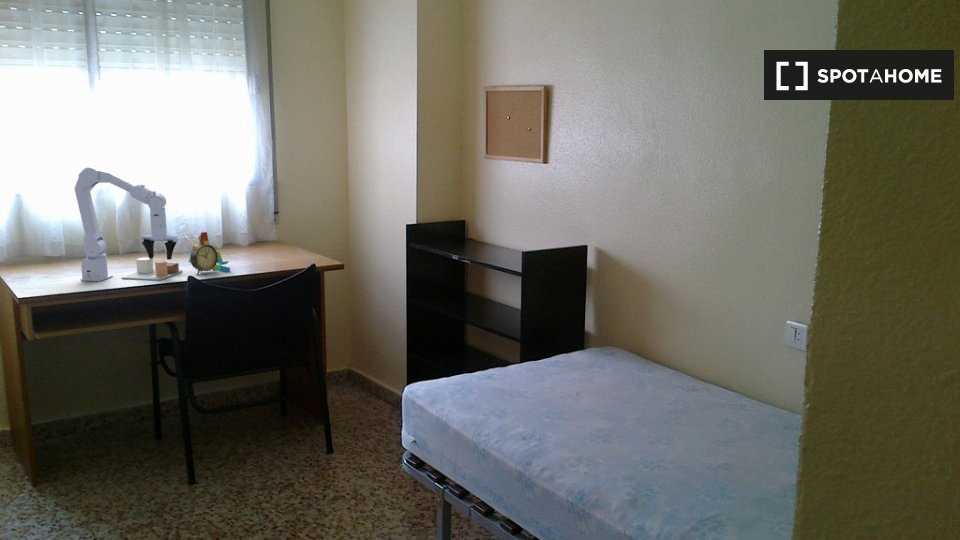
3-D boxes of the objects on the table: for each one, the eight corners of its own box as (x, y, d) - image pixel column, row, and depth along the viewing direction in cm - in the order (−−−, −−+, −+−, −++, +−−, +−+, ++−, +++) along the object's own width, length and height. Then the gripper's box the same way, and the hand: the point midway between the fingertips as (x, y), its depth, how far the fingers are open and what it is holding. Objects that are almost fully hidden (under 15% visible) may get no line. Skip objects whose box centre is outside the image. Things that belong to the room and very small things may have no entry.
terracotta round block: (164, 277, 312) (163, 263, 311) (153, 276, 312) (152, 263, 311) (169, 274, 316) (168, 261, 315) (159, 274, 317) (158, 261, 315)
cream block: (147, 273, 319) (146, 260, 318) (137, 272, 319) (136, 259, 318) (153, 271, 323) (152, 258, 322) (143, 270, 324) (142, 257, 323)
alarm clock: (197, 275, 318) (195, 236, 315) (188, 274, 321) (186, 235, 318) (219, 271, 328) (217, 233, 324) (210, 270, 330) (208, 232, 327)
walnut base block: (171, 274, 318) (171, 265, 317) (157, 273, 318) (157, 265, 318) (178, 271, 324) (178, 263, 323) (165, 270, 324) (164, 262, 324)
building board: (160, 280, 308) (160, 279, 308) (121, 278, 310) (121, 277, 310) (183, 271, 326) (183, 270, 325) (146, 270, 328) (146, 268, 327)
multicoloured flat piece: (230, 272, 328) (229, 236, 326) (223, 273, 326) (221, 237, 323) (195, 261, 349) (193, 228, 346) (188, 262, 347) (186, 229, 344)
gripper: (180, 224, 313) (182, 257, 316) (146, 222, 315) (148, 256, 317) (171, 226, 306) (173, 260, 309) (137, 225, 308) (139, 259, 311)
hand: (160, 258), depth 313 cm, fingers open, 7 cm apart
